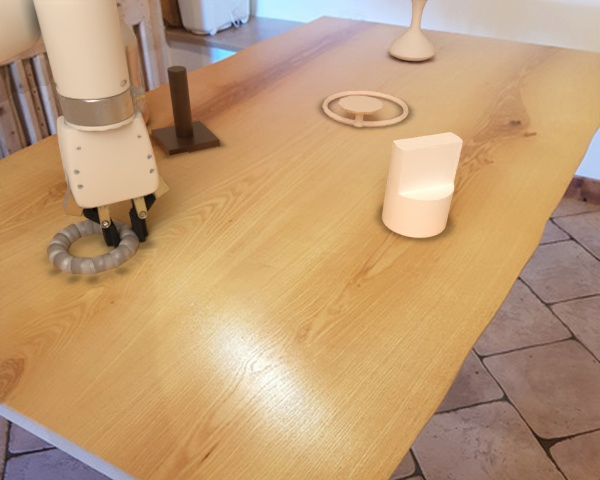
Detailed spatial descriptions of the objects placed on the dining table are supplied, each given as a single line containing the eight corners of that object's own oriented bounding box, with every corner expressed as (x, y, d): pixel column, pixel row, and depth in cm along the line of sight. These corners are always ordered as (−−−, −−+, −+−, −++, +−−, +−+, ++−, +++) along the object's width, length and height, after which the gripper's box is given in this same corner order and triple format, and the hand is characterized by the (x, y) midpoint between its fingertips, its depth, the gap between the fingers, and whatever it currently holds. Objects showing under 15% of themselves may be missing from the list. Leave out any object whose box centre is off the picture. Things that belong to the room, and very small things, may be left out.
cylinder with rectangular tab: (425, 200, 82) (440, 123, 74) (458, 232, 75) (478, 151, 68) (370, 210, 79) (380, 131, 72) (400, 244, 73) (414, 161, 65)
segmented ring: (61, 289, 64) (56, 274, 63) (43, 242, 71) (38, 228, 70) (150, 263, 68) (148, 249, 67) (125, 221, 75) (122, 208, 74)
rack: (170, 158, 91) (158, 81, 82) (152, 138, 96) (140, 64, 88) (220, 147, 94) (214, 72, 86) (200, 128, 100) (192, 56, 92)
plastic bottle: (139, 116, 104) (118, -2, 91) (158, 127, 100) (139, 6, 87) (107, 125, 100) (81, 3, 87) (126, 137, 97) (101, 12, 84)
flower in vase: (377, 56, 134) (390, -65, 118) (407, 47, 140) (423, -70, 124) (420, 70, 127) (440, -57, 111) (449, 60, 133) (472, -62, 117)
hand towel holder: (415, 79, 110) (405, 118, 95) (412, 100, 113) (401, 142, 97) (332, 70, 113) (309, 106, 97) (331, 91, 115) (309, 129, 100)
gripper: (158, 82, 65) (176, 215, 77) (12, 105, 59) (57, 246, 71) (181, 104, 60) (196, 242, 72) (24, 131, 54) (70, 278, 66)
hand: (127, 243), depth 71 cm, fingers closed on segmented ring, 2 cm apart
